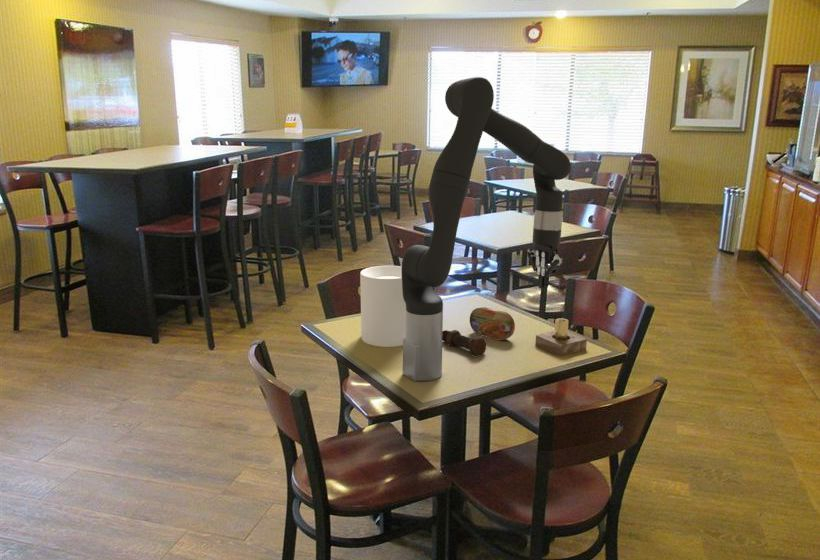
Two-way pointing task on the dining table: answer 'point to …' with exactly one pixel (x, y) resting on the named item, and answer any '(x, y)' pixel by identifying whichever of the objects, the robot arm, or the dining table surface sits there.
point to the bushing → (561, 329)
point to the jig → (561, 343)
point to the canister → (382, 306)
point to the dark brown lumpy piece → (465, 342)
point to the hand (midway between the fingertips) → (542, 288)
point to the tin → (492, 323)
